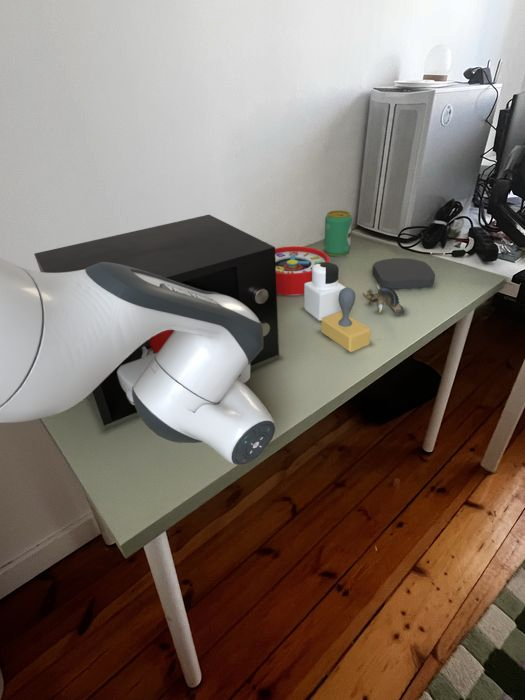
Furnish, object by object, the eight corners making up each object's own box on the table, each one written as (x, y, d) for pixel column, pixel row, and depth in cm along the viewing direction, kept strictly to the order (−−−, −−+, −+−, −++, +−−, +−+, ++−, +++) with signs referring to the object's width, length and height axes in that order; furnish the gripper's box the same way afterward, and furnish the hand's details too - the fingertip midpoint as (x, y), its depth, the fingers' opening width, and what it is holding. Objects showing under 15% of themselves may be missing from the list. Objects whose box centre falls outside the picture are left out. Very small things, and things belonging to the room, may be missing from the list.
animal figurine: (359, 310, 102) (397, 312, 97) (363, 280, 102) (401, 281, 97) (371, 314, 109) (407, 317, 103) (375, 286, 109) (411, 287, 103)
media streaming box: (381, 290, 113) (382, 280, 111) (369, 268, 125) (370, 258, 123) (438, 288, 112) (440, 277, 111) (420, 265, 125) (422, 256, 123)
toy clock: (251, 274, 111) (259, 246, 128) (253, 295, 114) (260, 265, 131) (330, 274, 109) (328, 245, 125) (329, 295, 112) (327, 264, 129)
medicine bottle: (328, 302, 109) (330, 257, 102) (344, 314, 104) (347, 267, 97) (303, 309, 107) (303, 263, 100) (319, 321, 101) (320, 274, 94)
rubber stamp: (320, 332, 97) (321, 283, 90) (340, 324, 100) (343, 276, 93) (349, 352, 90) (353, 301, 83) (370, 343, 92) (375, 293, 86)
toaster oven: (107, 434, 73) (64, 309, 60) (72, 360, 93) (34, 253, 80) (282, 361, 89) (279, 248, 75) (220, 310, 108) (209, 214, 95)
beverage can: (349, 256, 133) (351, 217, 126) (323, 256, 134) (324, 217, 128) (350, 247, 139) (352, 209, 133) (325, 246, 141) (326, 209, 134)
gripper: (138, 425, 62) (111, 378, 72) (258, 374, 71) (219, 338, 81) (128, 391, 59) (101, 346, 69) (256, 342, 68) (215, 309, 77)
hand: (166, 342), depth 75 cm, fingers closed on sauce bottle, 6 cm apart
